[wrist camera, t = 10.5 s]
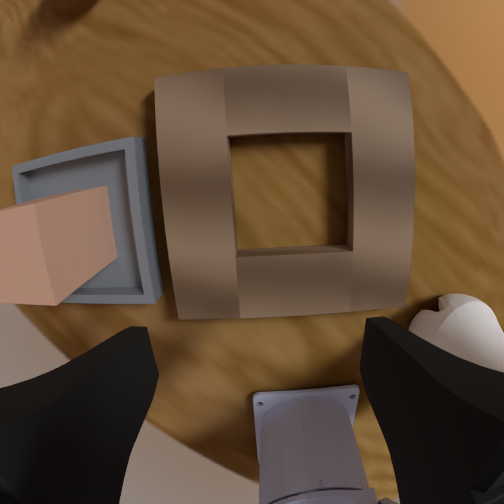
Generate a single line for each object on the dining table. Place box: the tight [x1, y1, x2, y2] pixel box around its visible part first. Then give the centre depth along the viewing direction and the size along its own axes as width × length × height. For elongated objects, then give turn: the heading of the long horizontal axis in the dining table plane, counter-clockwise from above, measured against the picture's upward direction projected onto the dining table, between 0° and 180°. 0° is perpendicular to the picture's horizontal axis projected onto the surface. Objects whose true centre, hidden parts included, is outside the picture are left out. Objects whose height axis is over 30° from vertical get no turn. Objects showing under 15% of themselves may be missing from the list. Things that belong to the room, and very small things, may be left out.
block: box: [0, 186, 118, 306], centre depth 15 cm, size 4×4×7 cm
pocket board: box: [154, 65, 415, 319], centre depth 17 cm, size 14×14×2 cm
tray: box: [12, 137, 164, 304], centre depth 18 cm, size 10×10×2 cm
